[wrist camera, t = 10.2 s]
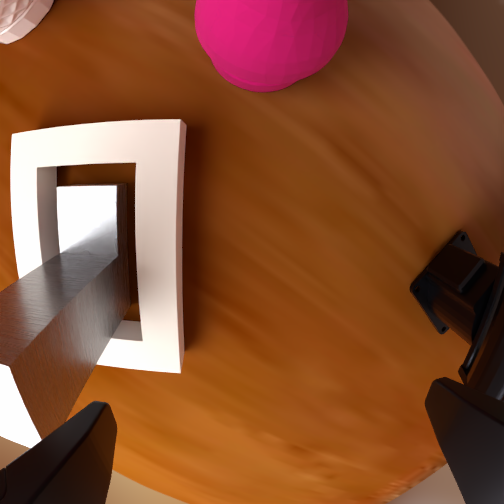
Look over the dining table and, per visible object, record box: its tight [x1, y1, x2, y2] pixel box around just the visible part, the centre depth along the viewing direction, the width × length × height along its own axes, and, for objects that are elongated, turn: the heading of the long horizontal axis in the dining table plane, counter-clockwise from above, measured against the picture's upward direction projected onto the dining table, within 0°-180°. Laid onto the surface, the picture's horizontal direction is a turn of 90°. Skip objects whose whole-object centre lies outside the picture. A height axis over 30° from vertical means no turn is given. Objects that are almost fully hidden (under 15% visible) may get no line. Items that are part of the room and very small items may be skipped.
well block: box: [11, 119, 187, 373], centre depth 17 cm, size 11×15×2 cm
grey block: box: [0, 183, 131, 448], centre depth 12 cm, size 4×8×13 cm, turn 176°
